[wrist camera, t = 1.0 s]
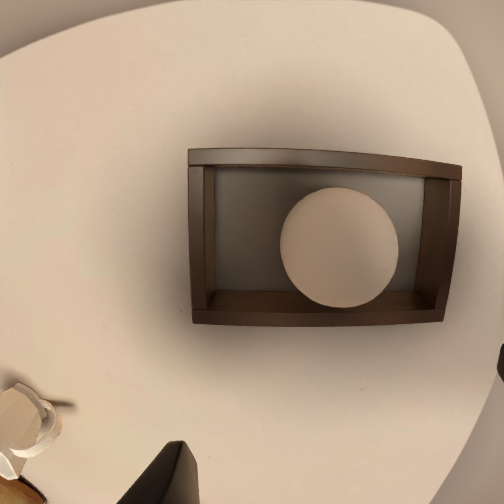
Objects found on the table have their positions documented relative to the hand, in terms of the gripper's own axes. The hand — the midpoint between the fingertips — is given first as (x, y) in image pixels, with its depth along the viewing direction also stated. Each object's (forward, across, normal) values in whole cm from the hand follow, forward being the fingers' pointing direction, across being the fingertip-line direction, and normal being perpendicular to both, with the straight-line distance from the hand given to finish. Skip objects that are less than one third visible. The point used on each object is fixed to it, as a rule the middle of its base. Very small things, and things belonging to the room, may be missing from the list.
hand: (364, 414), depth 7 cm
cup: (+14, +24, +8) cm, 29 cm away
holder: (+12, -2, -2) cm, 12 cm away
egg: (+12, -2, -2) cm, 12 cm away
